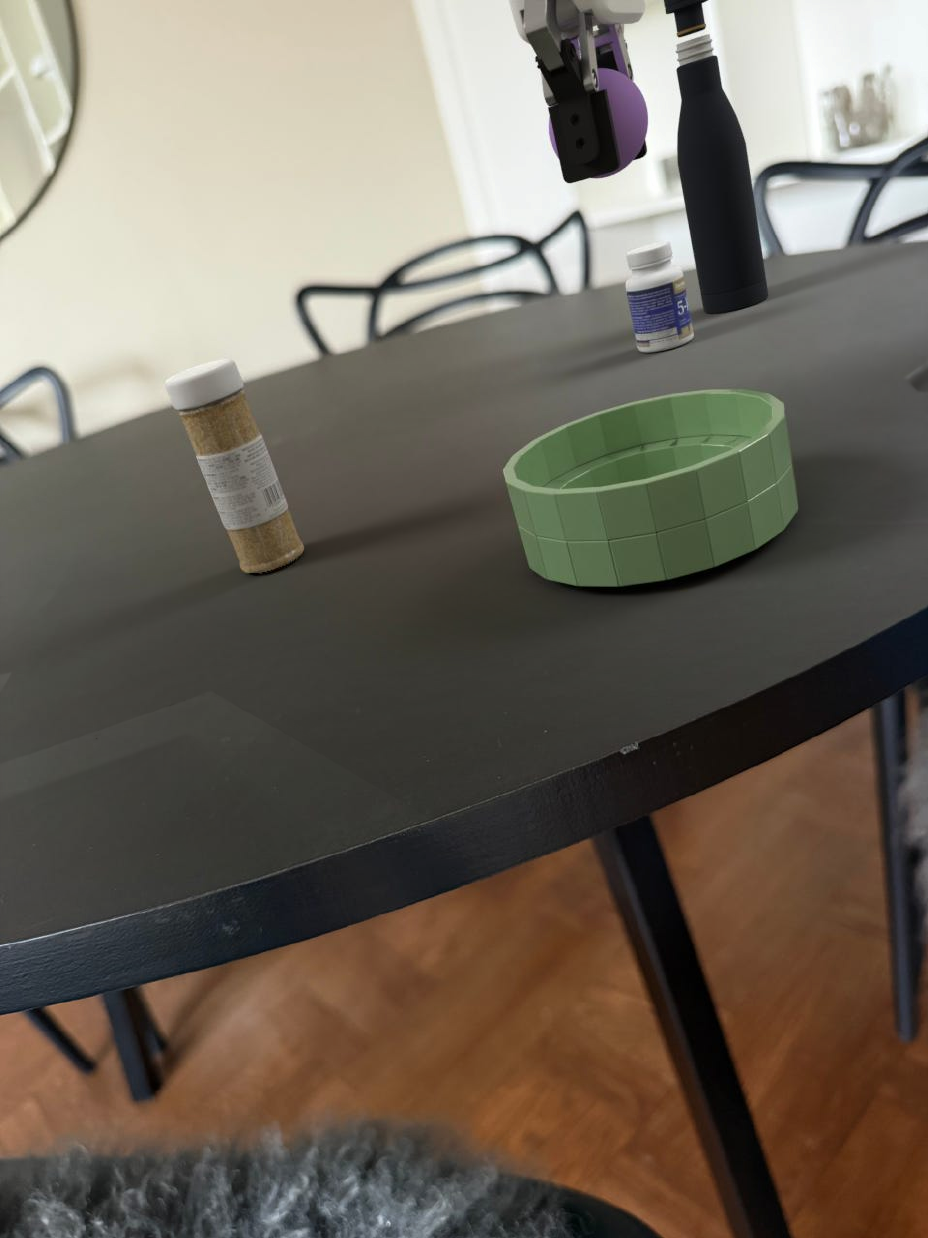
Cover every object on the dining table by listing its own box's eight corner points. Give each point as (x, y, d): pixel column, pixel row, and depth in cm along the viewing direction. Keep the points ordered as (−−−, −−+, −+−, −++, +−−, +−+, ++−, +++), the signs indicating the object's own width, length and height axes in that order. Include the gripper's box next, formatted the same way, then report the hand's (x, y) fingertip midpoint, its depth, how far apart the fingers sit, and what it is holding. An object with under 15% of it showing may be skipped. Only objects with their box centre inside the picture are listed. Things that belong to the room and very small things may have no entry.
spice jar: (273, 547, 70) (200, 361, 64) (319, 546, 67) (247, 351, 62) (228, 577, 67) (147, 384, 61) (275, 577, 64) (195, 375, 59)
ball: (608, 172, 61) (588, 72, 59) (677, 156, 56) (658, 47, 54) (541, 195, 58) (518, 92, 56) (608, 180, 54) (585, 67, 52)
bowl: (649, 475, 61) (631, 389, 59) (857, 492, 50) (844, 387, 48) (478, 574, 55) (450, 481, 53) (674, 619, 44) (649, 504, 41)
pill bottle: (696, 343, 90) (677, 242, 86) (638, 357, 91) (618, 259, 87) (693, 331, 94) (676, 235, 91) (638, 345, 96) (619, 251, 92)
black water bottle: (745, 310, 96) (688, -43, 84) (691, 316, 101) (630, -17, 89) (781, 291, 100) (732, -51, 87) (727, 297, 104) (673, -27, 92)
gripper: (549, -288, 41) (635, 170, 49) (644, -213, 55) (700, 137, 62) (395, -209, 45) (497, 208, 52) (520, -156, 58) (587, 169, 66)
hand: (607, 166), depth 57 cm, fingers closed on ball, 5 cm apart
